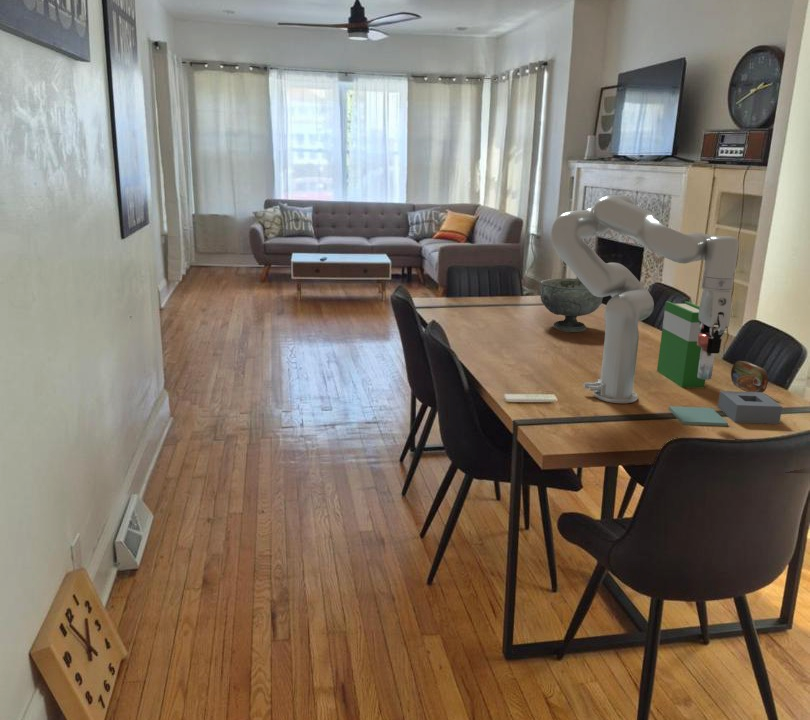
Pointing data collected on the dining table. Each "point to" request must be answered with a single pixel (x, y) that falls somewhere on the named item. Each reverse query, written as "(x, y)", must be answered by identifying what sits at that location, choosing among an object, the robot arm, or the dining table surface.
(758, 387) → the tin
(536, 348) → the dining table surface
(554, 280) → the decorative bowl
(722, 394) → the grey flat block
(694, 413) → the mat
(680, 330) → the green cereal box
